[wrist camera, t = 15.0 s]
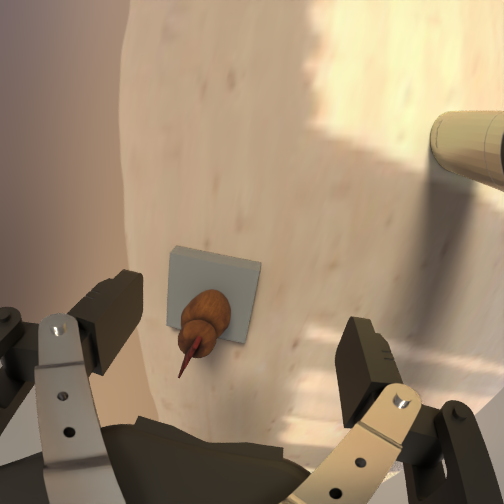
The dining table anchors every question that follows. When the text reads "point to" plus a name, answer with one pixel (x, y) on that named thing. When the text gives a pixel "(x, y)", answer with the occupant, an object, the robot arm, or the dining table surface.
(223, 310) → the wooden figurine
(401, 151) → the dining table surface
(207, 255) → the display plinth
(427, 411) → the robot arm
